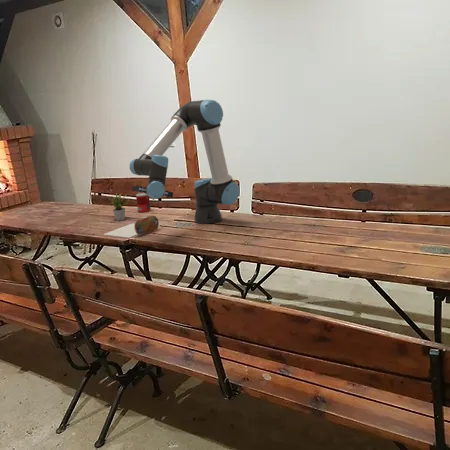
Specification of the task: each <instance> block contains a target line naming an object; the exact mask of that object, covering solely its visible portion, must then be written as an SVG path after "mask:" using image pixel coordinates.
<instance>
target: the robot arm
mask: <svg viewBox="0 0 450 450" xmlns="http://www.w3.org/2000/svg"><path fill="white" fill-rule="evenodd" d="M223 117H224V110H223V107H222V106H221V104H220V102H218V101H217V100H215V99H202V100H201V99H200V100H191V101H188V102H187V103H185V104H184V105H182V106H180V108H178V110H176V111H175V112H174V114H173V115H172V116H171V117H170V121H169V122H168V124H167V125H165V127H164V128H163V129H162V131H161V132H160V133H159V134H158V136H157V137H156V138H155V139H154V140H153V141H152V142H151V144H150V145H149V146H148V147H147V148H146V149H145V150H144V152H143V153H142V154H141V155H140V156H139V157H138V158H135V159H132V160H131V161H130V163H129V171H130V172H131V173H132V174H133V175H137V176H146V177H148V183H147V186H145V187H144V186H142V185H141V186H140V185H138V184H136V185H132V190H131V191H132V192H136V193H137V194H140V193H145V194H147V196H148V197H149V199H152V200H153V201H155V200H156V199H157V200H158V199H160V198H162V197H164V198H166V199H169V198H173V196H174V192H173V191H170V190H169V191H168V190H167V189H166V188H165V187H166V179H167V172H168V169H169V158H168V157H167V156H166V155H165V153H166V152H167V150H168V149H170V147H171V146H172V145H173V144H174V143H175V141H176V140H177V139H178V137H179V136H180V135H181V134H182V133H183V132H186V131H187V130H188V129H189V128H190V127H192V126H196V127H197V128H196V129H197V132H199V133H200V134H201V136H202V141H203V145H204V149H205V153H206V157H207V162H208V166H209V170H210V174H211V177H209V178H203V179H198V180H196V181H194V185H193V186H194V188H193V189H194V196H195V197H194V198H195V205H196V209H195V213H194V222H195V223H196V224H201V225H202V224H203V225H204V224H206V225H208V224H215V223H218V222H221V221H222V220H223V216H222V213H221V210H220V208H219V206H218V204H219V205H224V206H227V205H228V206H230V205H234V204H235V203H236V202H237V201H238V199H239V196H240V186H239V184H237V183H236V182H234V179H233V176H232V175H230V174H229V170H228V166H227V162H226V158H225V153H224V148H223V144H222V139H221V135H220V131H219V130H220V128H221V126H222V125H221V122H222V121H223Z"/></svg>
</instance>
